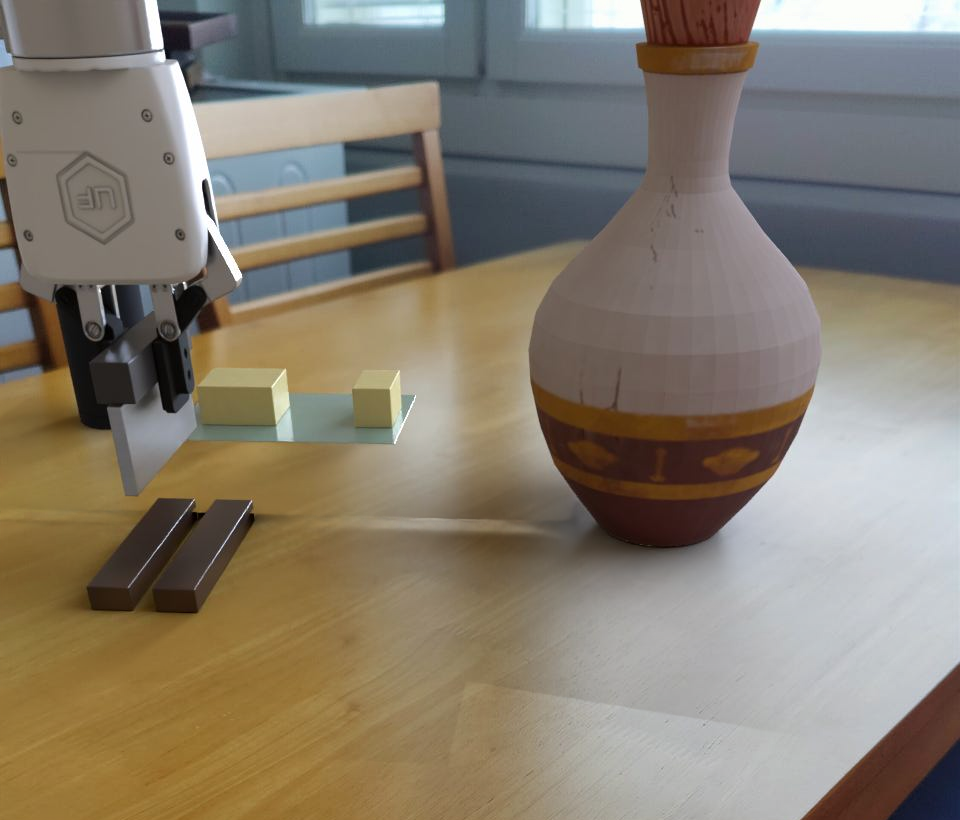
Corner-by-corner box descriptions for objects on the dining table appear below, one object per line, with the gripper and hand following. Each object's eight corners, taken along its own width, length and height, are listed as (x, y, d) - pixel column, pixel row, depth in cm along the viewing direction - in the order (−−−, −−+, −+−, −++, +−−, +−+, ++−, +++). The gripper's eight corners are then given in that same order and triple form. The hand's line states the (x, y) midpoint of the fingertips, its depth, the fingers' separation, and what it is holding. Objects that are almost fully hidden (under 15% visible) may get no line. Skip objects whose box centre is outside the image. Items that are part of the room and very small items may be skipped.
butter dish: (166, 452, 94) (164, 439, 93) (208, 403, 103) (206, 391, 103) (395, 456, 92) (394, 443, 92) (417, 406, 102) (416, 394, 101)
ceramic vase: (574, 457, 92) (591, -33, 73) (814, 482, 87) (895, -36, 69) (490, 559, 77) (485, -21, 59) (772, 596, 72) (862, -23, 54)
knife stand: (90, 609, 72) (85, 586, 71) (161, 518, 83) (158, 497, 82) (198, 613, 72) (194, 589, 71) (255, 520, 83) (252, 499, 82)
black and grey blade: (150, 497, 69) (124, 365, 64) (112, 496, 69) (84, 365, 64) (208, 427, 78) (189, 308, 74) (175, 427, 78) (154, 308, 74)
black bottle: (123, 446, 95) (32, -25, 77) (66, 433, 98) (-36, -25, 79) (180, 423, 99) (105, -28, 81) (123, 411, 102) (39, -29, 84)
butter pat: (354, 427, 95) (351, 388, 93) (365, 407, 99) (362, 369, 97) (392, 428, 95) (390, 388, 93) (401, 408, 98) (399, 369, 97)
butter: (202, 424, 96) (196, 386, 94) (218, 404, 100) (213, 367, 98) (276, 426, 95) (271, 387, 94) (290, 406, 99) (286, 368, 97)
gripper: (-104, 40, 58) (-2, 426, 69) (221, 33, 57) (271, 428, 68) (-37, 29, 64) (47, 386, 75) (259, 22, 63) (300, 387, 74)
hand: (153, 403), depth 71 cm, fingers closed on black and grey blade, 2 cm apart
